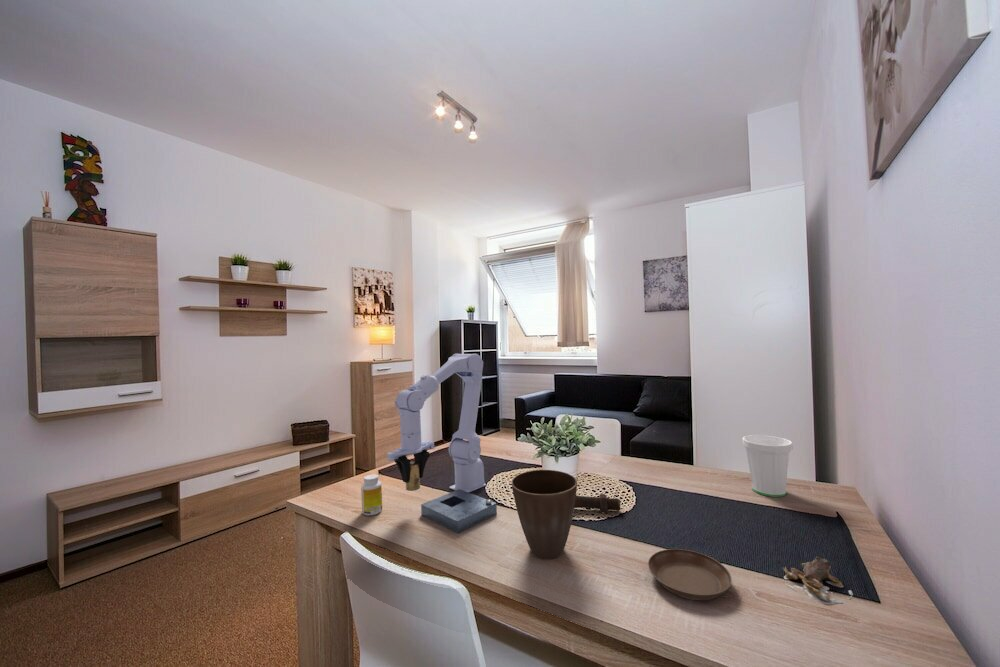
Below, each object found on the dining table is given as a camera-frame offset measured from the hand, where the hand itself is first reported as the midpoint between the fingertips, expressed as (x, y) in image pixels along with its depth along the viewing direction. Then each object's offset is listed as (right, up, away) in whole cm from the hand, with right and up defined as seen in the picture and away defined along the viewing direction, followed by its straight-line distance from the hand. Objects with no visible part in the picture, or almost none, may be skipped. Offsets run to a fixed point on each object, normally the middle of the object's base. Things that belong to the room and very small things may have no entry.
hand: (412, 479), depth 114 cm
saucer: (+62, -7, -36) cm, 72 cm away
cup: (+105, -5, +5) cm, 106 cm away
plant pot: (+36, -8, -23) cm, 43 cm away
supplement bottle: (-12, -10, +1) cm, 16 cm away
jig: (+14, -9, -3) cm, 16 cm away
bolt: (+51, -8, -3) cm, 51 cm away
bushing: (0, -2, 0) cm, 2 cm away
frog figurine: (+85, -7, -37) cm, 93 cm away
